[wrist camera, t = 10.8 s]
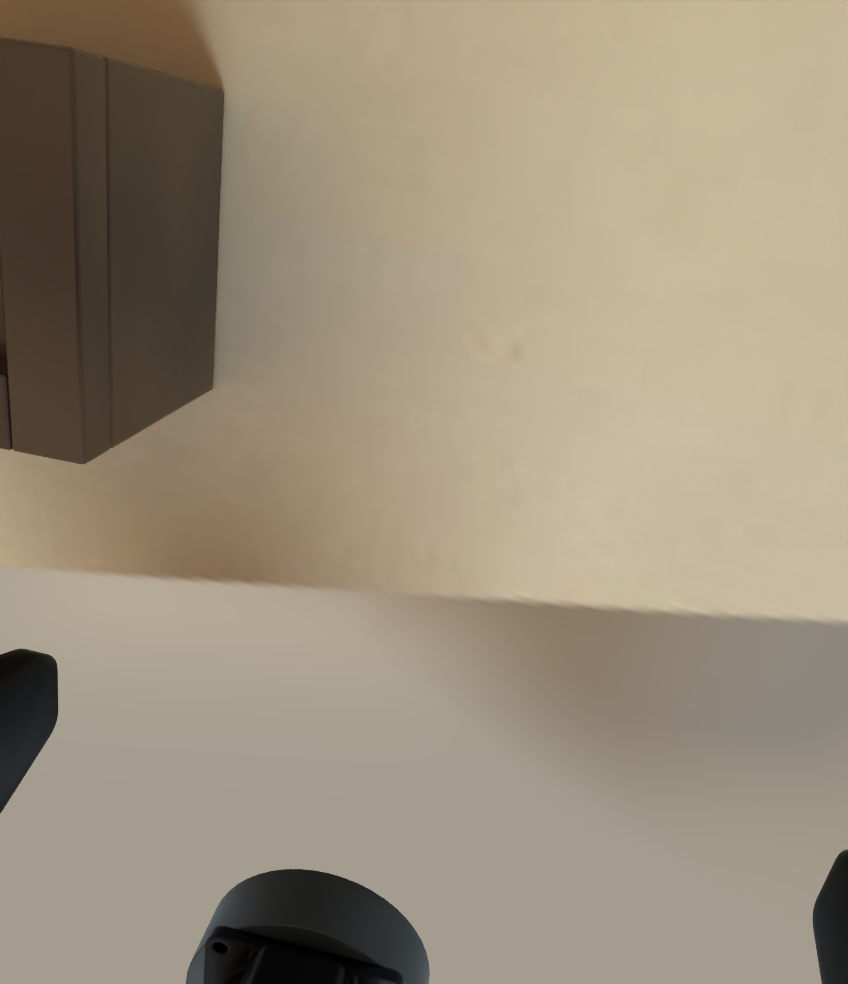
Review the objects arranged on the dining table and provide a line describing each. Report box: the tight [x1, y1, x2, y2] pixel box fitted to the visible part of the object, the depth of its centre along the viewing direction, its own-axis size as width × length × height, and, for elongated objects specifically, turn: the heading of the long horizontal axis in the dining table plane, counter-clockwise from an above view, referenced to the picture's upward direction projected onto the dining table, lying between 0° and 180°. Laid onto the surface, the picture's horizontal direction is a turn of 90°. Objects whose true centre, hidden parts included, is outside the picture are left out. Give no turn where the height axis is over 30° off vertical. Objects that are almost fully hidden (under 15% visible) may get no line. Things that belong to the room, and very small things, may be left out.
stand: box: [0, 37, 224, 464], centre depth 17 cm, size 7×7×6 cm
